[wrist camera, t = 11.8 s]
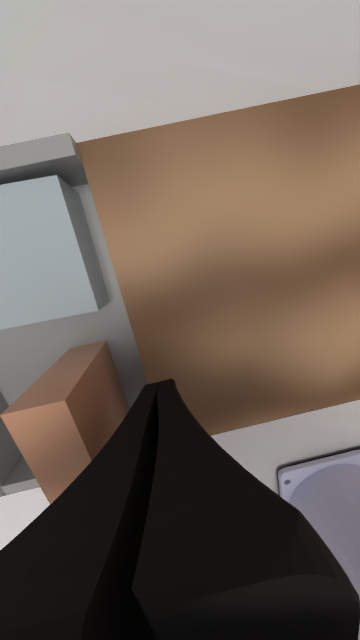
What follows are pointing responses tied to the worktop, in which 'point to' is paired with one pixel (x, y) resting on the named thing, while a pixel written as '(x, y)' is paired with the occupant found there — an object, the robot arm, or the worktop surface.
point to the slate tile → (46, 254)
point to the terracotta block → (67, 416)
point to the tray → (68, 332)
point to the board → (240, 254)
